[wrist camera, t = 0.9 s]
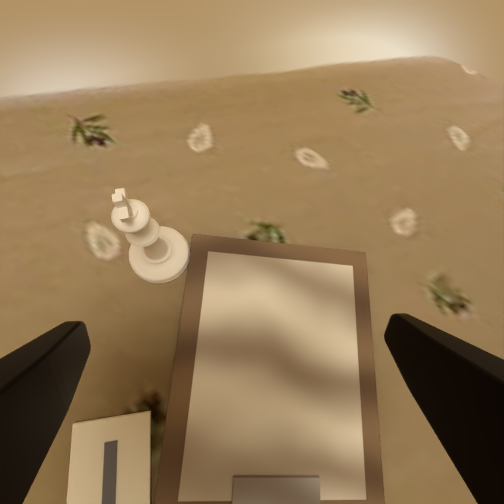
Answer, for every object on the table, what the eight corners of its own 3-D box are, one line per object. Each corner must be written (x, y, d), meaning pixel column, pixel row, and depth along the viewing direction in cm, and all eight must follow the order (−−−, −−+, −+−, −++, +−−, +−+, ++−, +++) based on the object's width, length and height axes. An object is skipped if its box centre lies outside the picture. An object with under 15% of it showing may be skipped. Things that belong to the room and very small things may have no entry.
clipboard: (381, 518, 18) (391, 529, 17) (152, 522, 16) (148, 535, 15) (362, 254, 24) (368, 250, 23) (193, 236, 22) (192, 231, 21)
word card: (150, 552, 16) (149, 557, 16) (63, 574, 15) (59, 580, 15) (150, 410, 18) (149, 412, 18) (75, 422, 17) (71, 424, 17)
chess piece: (135, 290, 20) (64, 257, 11) (126, 234, 22) (55, 161, 12) (195, 275, 21) (179, 233, 12) (184, 223, 23) (160, 147, 13)
